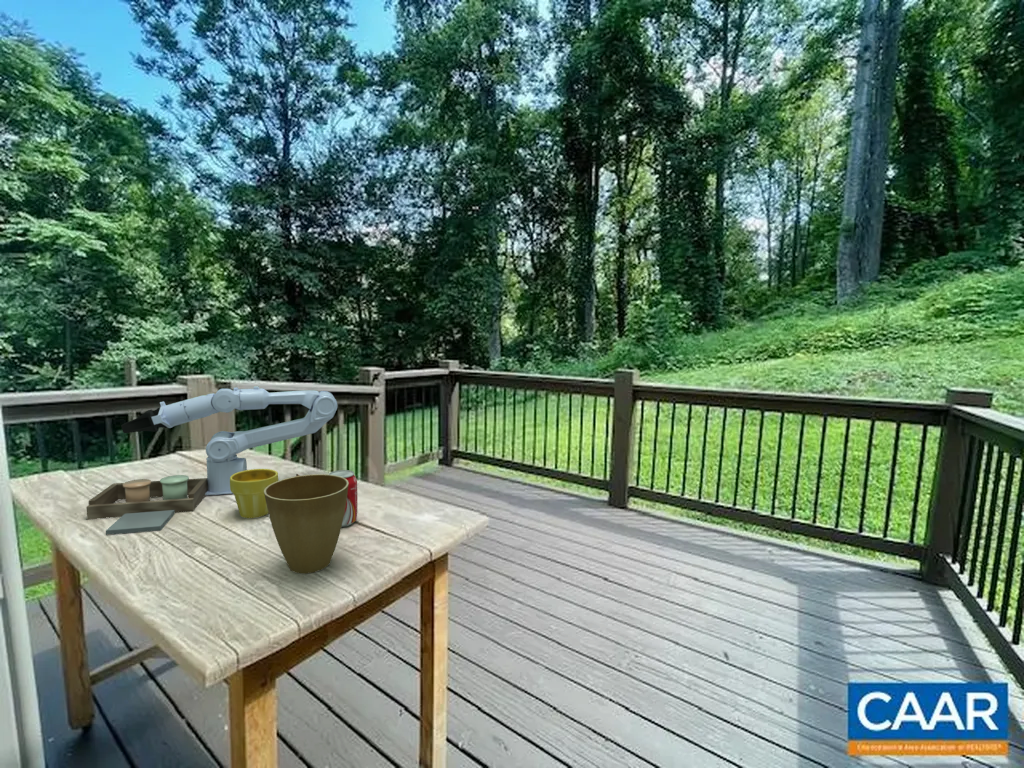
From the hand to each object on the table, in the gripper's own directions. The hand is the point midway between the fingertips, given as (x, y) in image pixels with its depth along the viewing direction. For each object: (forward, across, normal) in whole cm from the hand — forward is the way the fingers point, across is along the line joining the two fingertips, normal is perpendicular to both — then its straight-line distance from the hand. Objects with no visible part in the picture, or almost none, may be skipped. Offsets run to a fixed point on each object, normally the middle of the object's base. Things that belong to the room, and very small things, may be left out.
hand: (127, 427), depth 127 cm
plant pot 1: (-23, +18, +28) cm, 41 cm away
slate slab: (-1, +18, +22) cm, 28 cm away
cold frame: (0, +5, +20) cm, 21 cm away
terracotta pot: (+3, +4, +19) cm, 20 cm away
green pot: (-5, +5, +22) cm, 23 cm away
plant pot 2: (-34, +50, +35) cm, 69 cm away
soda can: (-41, +30, +35) cm, 62 cm away
